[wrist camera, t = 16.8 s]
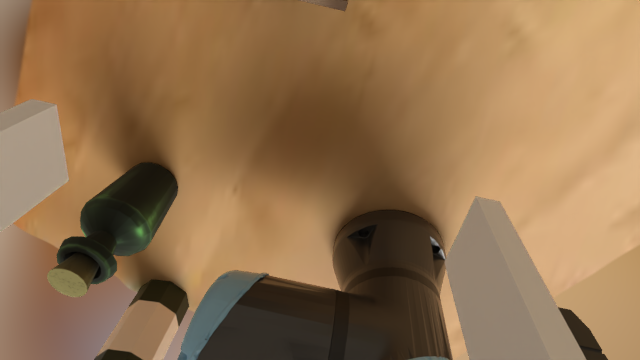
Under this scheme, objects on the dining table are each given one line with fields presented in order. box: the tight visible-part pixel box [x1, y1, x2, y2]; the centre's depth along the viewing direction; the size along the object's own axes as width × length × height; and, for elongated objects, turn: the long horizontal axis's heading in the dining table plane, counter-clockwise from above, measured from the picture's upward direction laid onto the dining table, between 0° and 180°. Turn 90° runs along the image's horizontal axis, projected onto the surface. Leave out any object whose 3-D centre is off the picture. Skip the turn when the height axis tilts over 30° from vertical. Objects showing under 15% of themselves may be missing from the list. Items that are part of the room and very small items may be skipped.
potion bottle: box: [47, 163, 178, 297], centre depth 45 cm, size 8×8×18 cm
